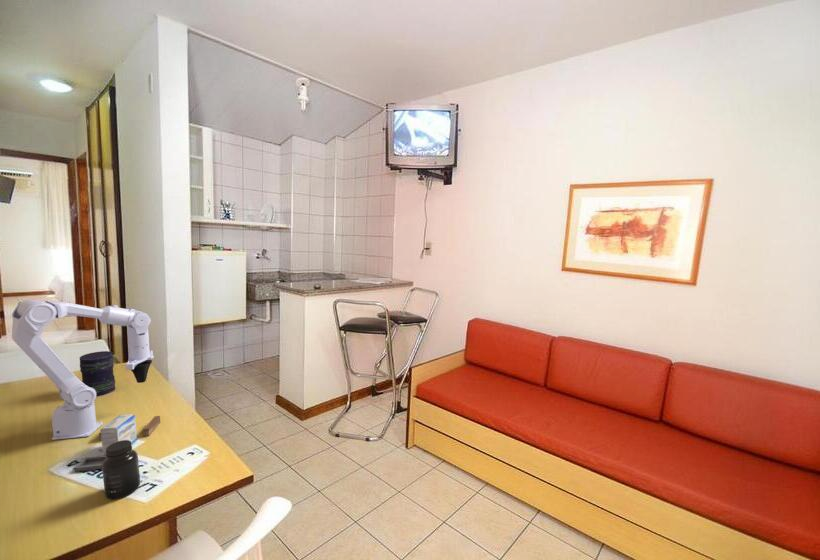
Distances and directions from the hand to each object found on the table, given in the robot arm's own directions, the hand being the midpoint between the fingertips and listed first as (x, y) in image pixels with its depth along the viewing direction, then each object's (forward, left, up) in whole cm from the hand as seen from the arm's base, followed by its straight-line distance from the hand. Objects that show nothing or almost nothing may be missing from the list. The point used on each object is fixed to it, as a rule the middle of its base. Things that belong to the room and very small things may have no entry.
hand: (141, 381), depth 124 cm
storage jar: (-23, +19, -11) cm, 32 cm away
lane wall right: (+9, -15, -10) cm, 20 cm away
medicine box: (+4, -24, -11) cm, 27 cm away
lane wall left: (-3, -15, -10) cm, 18 cm away
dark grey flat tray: (+3, -32, -10) cm, 34 cm away
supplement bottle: (+14, -44, -11) cm, 47 cm away
